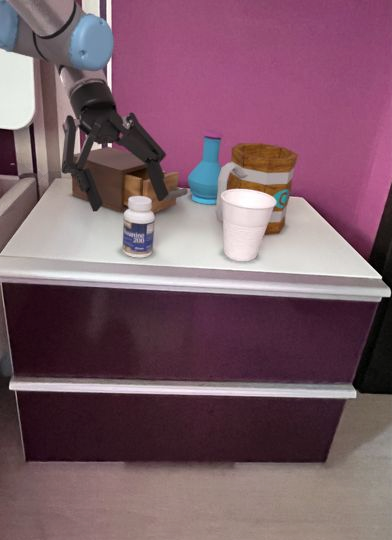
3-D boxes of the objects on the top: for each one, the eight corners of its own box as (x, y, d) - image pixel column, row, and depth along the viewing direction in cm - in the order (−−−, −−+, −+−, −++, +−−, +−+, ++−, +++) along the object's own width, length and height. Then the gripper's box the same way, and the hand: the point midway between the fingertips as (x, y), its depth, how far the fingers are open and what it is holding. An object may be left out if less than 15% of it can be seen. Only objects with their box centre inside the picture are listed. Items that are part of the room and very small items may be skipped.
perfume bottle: (209, 191, 135) (216, 125, 127) (233, 203, 130) (243, 135, 121) (178, 195, 130) (184, 127, 122) (201, 208, 125) (209, 138, 116)
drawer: (192, 209, 120) (195, 177, 117) (162, 221, 113) (164, 187, 109) (131, 189, 127) (132, 158, 124) (99, 199, 120) (99, 167, 116)
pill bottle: (117, 253, 100) (118, 200, 95) (131, 243, 104) (133, 192, 99) (144, 261, 98) (147, 207, 93) (157, 250, 103) (161, 198, 97)
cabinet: (155, 200, 126) (157, 160, 121) (120, 212, 117) (121, 170, 112) (108, 185, 131) (108, 146, 127) (72, 195, 123) (71, 154, 118)
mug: (248, 208, 128) (259, 139, 120) (297, 227, 121) (312, 155, 112) (189, 225, 115) (196, 150, 107) (239, 247, 108) (251, 169, 100)
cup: (227, 268, 99) (235, 208, 93) (205, 246, 107) (212, 189, 101) (275, 264, 103) (287, 206, 97) (251, 243, 110) (260, 187, 104)
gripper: (138, 103, 110) (178, 203, 108) (16, 108, 96) (60, 222, 94) (156, 79, 103) (198, 184, 102) (27, 80, 89) (75, 201, 88)
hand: (132, 202), depth 98 cm, fingers open, 13 cm apart
